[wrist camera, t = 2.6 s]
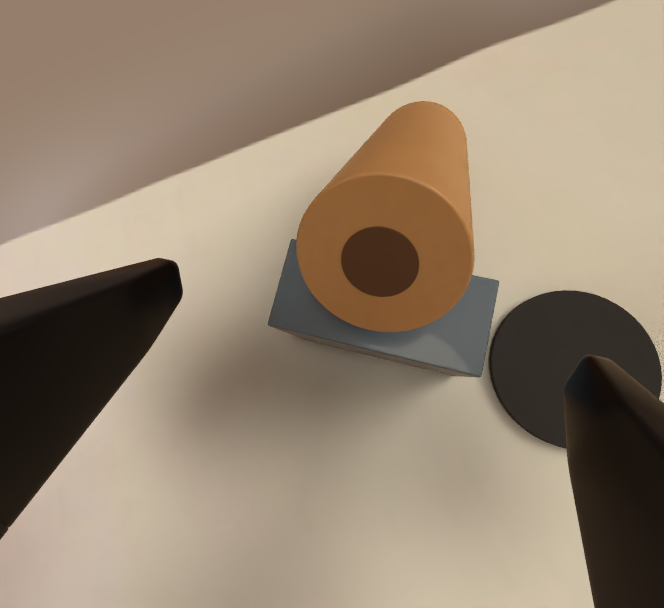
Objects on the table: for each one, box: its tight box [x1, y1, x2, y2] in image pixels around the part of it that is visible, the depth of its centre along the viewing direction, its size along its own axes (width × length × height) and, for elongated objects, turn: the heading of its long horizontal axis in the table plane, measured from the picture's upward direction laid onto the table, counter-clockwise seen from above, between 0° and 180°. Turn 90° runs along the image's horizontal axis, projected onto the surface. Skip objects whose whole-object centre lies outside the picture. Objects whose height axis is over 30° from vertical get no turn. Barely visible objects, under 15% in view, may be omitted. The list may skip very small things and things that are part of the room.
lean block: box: [268, 239, 499, 377], centre depth 18 cm, size 4×9×6 cm, turn 76°
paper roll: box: [296, 101, 474, 332], centre depth 16 cm, size 13×5×13 cm, turn 166°
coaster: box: [490, 291, 662, 448], centre depth 19 cm, size 8×8×1 cm
